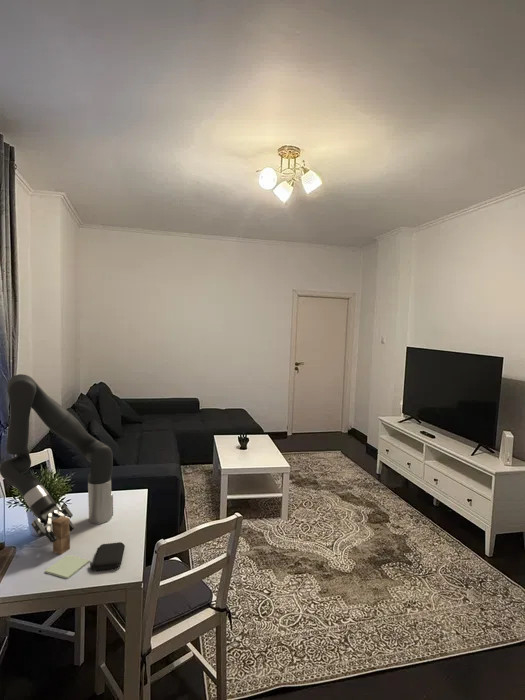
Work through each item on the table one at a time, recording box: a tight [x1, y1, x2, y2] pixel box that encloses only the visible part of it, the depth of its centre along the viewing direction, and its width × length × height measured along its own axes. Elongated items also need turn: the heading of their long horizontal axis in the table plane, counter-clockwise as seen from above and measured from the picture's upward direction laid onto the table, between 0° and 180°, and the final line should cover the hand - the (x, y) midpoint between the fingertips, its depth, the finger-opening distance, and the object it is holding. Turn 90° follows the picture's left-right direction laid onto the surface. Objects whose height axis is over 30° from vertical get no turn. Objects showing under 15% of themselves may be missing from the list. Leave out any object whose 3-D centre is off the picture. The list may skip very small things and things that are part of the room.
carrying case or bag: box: [89, 541, 126, 572], centre depth 144 cm, size 11×3×15 cm
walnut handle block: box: [51, 516, 71, 555], centre depth 149 cm, size 4×4×12 cm
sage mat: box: [44, 554, 91, 580], centre depth 140 cm, size 10×10×1 cm
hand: (64, 535), depth 149 cm, fingers open, 7 cm apart
